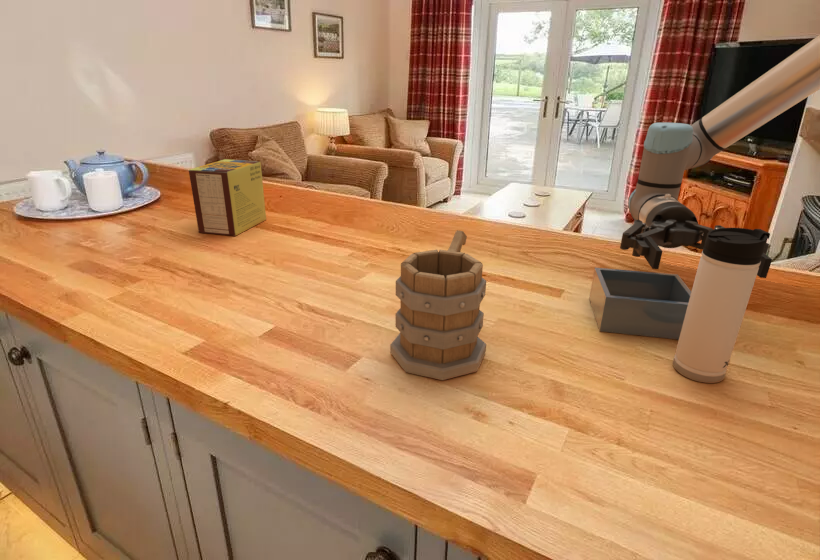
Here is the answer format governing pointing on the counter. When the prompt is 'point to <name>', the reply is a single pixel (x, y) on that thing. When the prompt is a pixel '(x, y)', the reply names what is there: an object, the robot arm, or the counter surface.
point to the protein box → (228, 196)
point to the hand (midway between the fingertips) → (710, 264)
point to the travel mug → (718, 302)
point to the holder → (639, 302)
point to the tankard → (440, 313)
